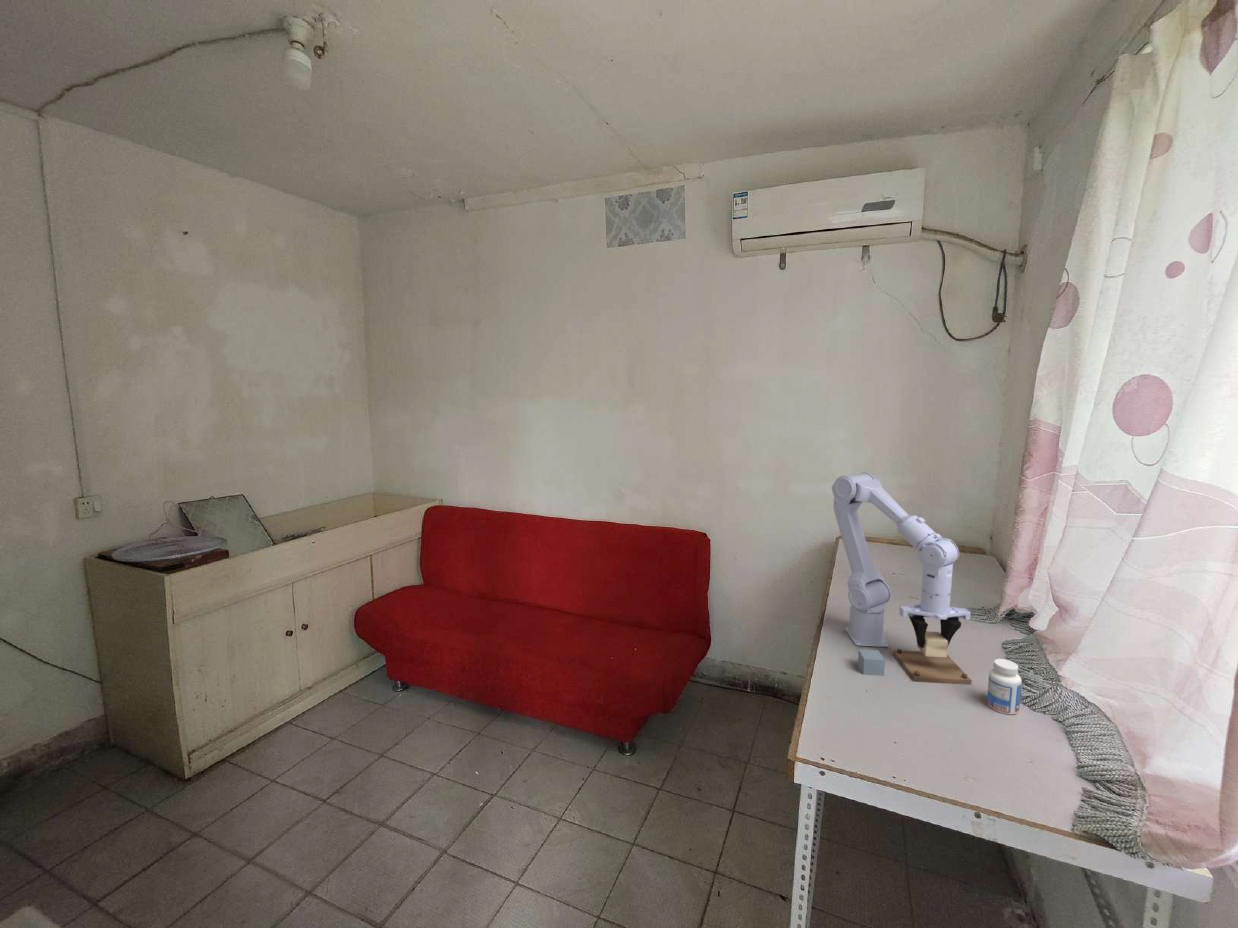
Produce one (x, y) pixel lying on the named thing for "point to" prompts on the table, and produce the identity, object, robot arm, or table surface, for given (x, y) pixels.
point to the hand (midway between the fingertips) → (932, 646)
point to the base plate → (931, 668)
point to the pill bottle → (1004, 687)
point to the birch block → (934, 645)
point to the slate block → (871, 662)
